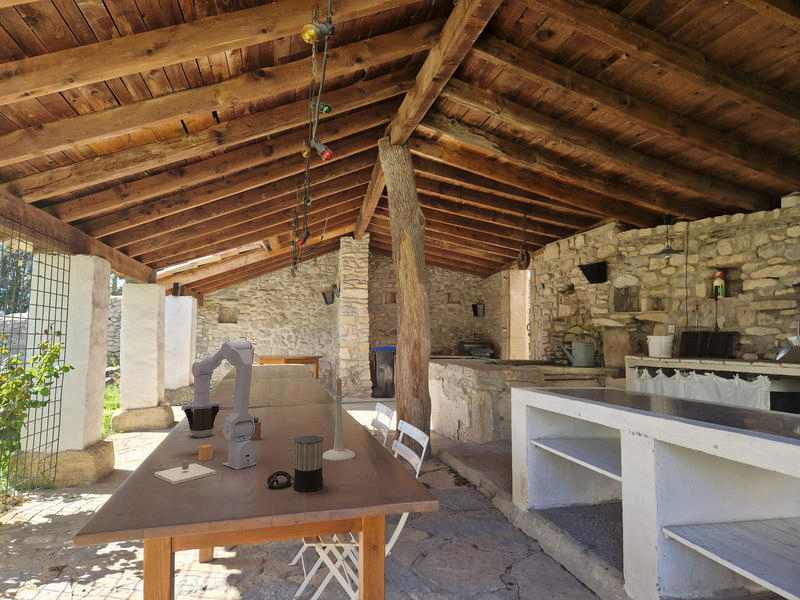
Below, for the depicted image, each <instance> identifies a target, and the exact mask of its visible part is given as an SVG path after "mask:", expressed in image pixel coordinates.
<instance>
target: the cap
mask: <svg viewBox="0 0 800 600" xmlns="http://www.w3.org/2000/svg"><path fill="white" fill-rule="evenodd" d="M197 449H198V450H197V453H198V454H197V460H198V461H200V462H207V461H212V459H213V454H214V453H213V449H214V448H213V444H212V443H211V444H210V443H205V444H200V445H199V446H198V448H197Z"/></svg>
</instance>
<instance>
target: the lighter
mask: <svg viewBox="0 0 800 600" xmlns="http://www.w3.org/2000/svg"><path fill="white" fill-rule="evenodd" d="M252 416H253V417H254V424H255V431H254V434H253V435H252V436H251V438H250V441H253V440H254V441H261V440H262V437H261V435H262V429H261V428H262V421H259V420H260V419H259V418H260V417H258V416H255V415H252ZM260 439H261V440H260Z"/></svg>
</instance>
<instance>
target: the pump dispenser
mask: <svg viewBox="0 0 800 600" xmlns="http://www.w3.org/2000/svg"><path fill="white" fill-rule="evenodd" d="M204 407H208V406H204ZM192 412H193V418H192V423H193V428H192V429H190V428H189V430H190V435H192V437H195V438H196V439H201V438H202V439H203V438H206V437H209V436H210V435H211V434H212V433H213V430H214V428H215V423H214V424H213V426H212V427H211V426H210V408H202V409H193V410H192Z"/></svg>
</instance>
